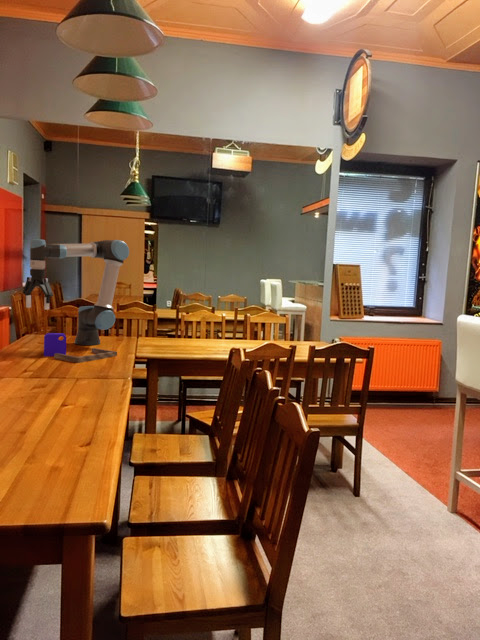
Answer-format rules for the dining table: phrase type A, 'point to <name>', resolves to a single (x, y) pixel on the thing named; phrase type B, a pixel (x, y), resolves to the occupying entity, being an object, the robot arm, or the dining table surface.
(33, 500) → the dining table surface
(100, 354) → the handle
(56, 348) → the bracket
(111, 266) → the robot arm
